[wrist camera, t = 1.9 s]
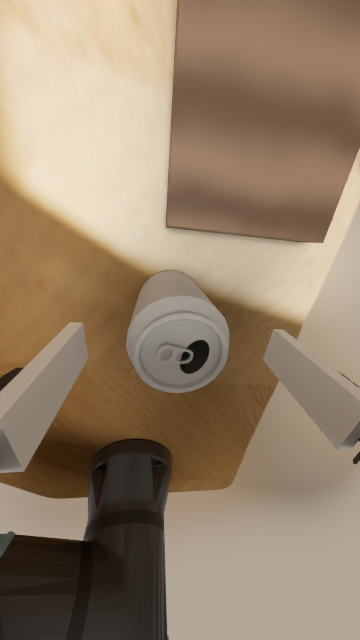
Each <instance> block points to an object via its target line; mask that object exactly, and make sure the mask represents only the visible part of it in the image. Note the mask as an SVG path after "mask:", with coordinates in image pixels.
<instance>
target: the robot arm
mask: <svg viewBox="0 0 360 640" xmlns="http://www.w3.org/2000/svg"><path fill="white" fill-rule="evenodd" d="M87 360H88V352H87V345H86V339H85V332H84V325H83V323H73V322H70V323H69V324H68V325H67V326H66V327H65V328H64V329H63V330H62V331H61V332H60V333H59V334H58V335H57V336H56V337H55V338H54V339H53V340H52V341H51V342H50V343H49V344H48V345H47V346H46V347H45V348H44V349H43V350H42V351H41V352H40V353H39V354H38V355H37V356H36V357H35V358H34V359H33V360H32V361H31V362H30V363H29V364H28V365H27V366H26V367H25V368H15V369H14V370H12V371H10V372H9V373H7V374H5V375H3V376H2V377H1V378H0V473H9V472H23V471H25V469H26V467H27V465H28V464H29V462H30V460H31V458H32V457H33V455H34V453H35V451H36V450H37V448H38V446H39V444H40V443H41V441H42V439H43V437H44V436H45V434H46V432H47V430H48V428H49V427H50V425H51V423H52V421H53V420H54V418H55V416H56V414H57V413H58V411H59V409H60V407H61V406H62V404H63V402H64V400H65V399H66V397H67V395H68V393H69V392H70V390H71V388H72V386H73V385H74V383H75V381H76V379H77V377H78V376H79V374H80V372H81V370H82V369H83V367H84V365H85V363H86V362H87ZM263 361H264V362H265V363H266V364H267V366H268V367H269V368H270V369H271V370H272V372H273V373H274V374H275V375H276V376H277V378H278V379H279V380H280V381H281V382H282V384H283V385H284V386H285V387H286V388H287V389H288V391H289V392H290V393H291V394H292V396H293V397H294V398H295V399H296V401H297V402H298V403H299V404H300V405H301V407H302V408H303V409H304V410H305V411H306V413H307V414H308V415H309V416H310V417H311V419H312V420H313V421H314V422H315V423H316V425H317V426H318V427H319V428H320V429H321V431H322V432H323V433H324V434H325V435H326V437H327V438H328V439H329V440H330V442H331V443H332V444H333V445H334V446H335V448H336V449H337V450H340V449H352V448H353V446H354V445H355V444H356V443H357V442H358V440H359V441H360V388H359V386H357V385H356V384H355V383H353V382H351V380H349V379H348V378H347V377H345V376H344V375H343V374H341V373H339V372H338V371H336V370H335V369H334V368H332V367H331V366H330V365H329V364H327V363H326V362H325V361H323V360H322V359H321V358H319V357H318V356H317V355H315V354H314V353H313V352H312V351H310V350H309V349H308V348H306V347H305V346H304V345H302V344H301V343H300V342H298V341H297V340H296V339H295V338H293V337H292V336H291V335H289V334H288V333H287V332H285V331H284V330H278V329H274V330H273V332H272V335H271V338H270V341H269V344H268V346H267V349H266V352H265V355H264V358H263ZM358 461H360V452H359V453H358V454H357V455H356V457H355V458H354V459H353V463H354V464H357V463H358ZM171 474H172V465H171V456H170V453H169V452H168V450H167V449H166V448H164V447H163V446H161V445H159V444H157V443H155V442H151V441H146V440H126V441H121V442H117V443H114V444H111V445H109V446H107V447H105V448H103V449H102V450H101V451H99V452H98V453H97V454H96V456H95V457H94V459H93V461H92V465H91V468H90V472H89V477H88V522H87V527H86V531H85V535H84V539H83V541H79V540H69V539H58V538H47V537H37V536H26V535H15V533H14V532H8V533H7V534H0V640H169V638H168V635H167V613H166V579H165V578H166V577H165V542H164V510H165V505H166V500H167V495H168V490H169V485H170V480H171Z"/></svg>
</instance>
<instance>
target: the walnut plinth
mask: <svg viewBox="0 0 360 640" xmlns="http://www.w3.org/2000/svg"><path fill="white" fill-rule="evenodd" d="M359 148H360V0H178V1H177V20H176V39H175V58H174V77H173V96H172V115H171V135H170V154H169V173H168V192H167V211H166V227H169V228H178V229H187V230H196V231H205V232H214V233H223V234H232V235H242V236H251V237H260V238H269V239H278V240H287V241H296V242H315V243H323V241H324V239H325V236H326V233H327V231H328V228H329V226H330V223H331V220H332V218H333V215H334V213H335V210H336V207H337V205H338V202H339V200H340V197H341V194H342V192H343V189H344V187H345V184H346V181H347V179H348V176H349V174H350V171H351V168H352V166H353V163H354V161H355V158H356V155H357V153H358V150H359Z"/></svg>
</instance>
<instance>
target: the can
mask: <svg viewBox="0 0 360 640" xmlns="http://www.w3.org/2000/svg"><path fill="white" fill-rule="evenodd" d="M228 346H229V329H228V326H227V323H226V320H225V318H224V317H223V316H222V314H221V313H220V312H219V311H218V310H217V308H216V307H215V306H214V305H213V304H212V302H211V301H210V300H209V299H208V298H207V297H206V295H205V294H204V293H203V292H202V291H201V289H200V288H199V287H198V286H197V285H196V283H195V282H194V281H193V280H192V279H191V278H190V277H188V276H187V275H185V274H183V273H181V272H176V271H164V272H160V273H158V274H156V275H153V276H152V277H151V278H149V279H148V280H147V281H146V282H145V283H144V285H143V287H142V289H141V291H140V293H139V296H138V299H137V303H136V306H135V309H134V312H133V316H132V319H131V322H130V325H129V328H128V332H127V340H126V348H127V352H128V356H129V360H130V361H131V362H132V364H133V365H134V367H135V370H136V372H137V373H138V375H139V376H140V377H141V379H142V380H143V381H144V382H146V383H147V384H148V385H150V386H151V387H153V388H155V389H158V390H161V391H164V392H171V393H183V392H189V391H193V390H196V389H198V388H201V387H203V386H205V385H206V384H208V383H209V382H211V381H212V380H213V379H215V378H216V377H217V375H218V374H219V373H220V372H221V370H222V369H223V368H224V365H225V363H226V360H227V358H228Z"/></svg>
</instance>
